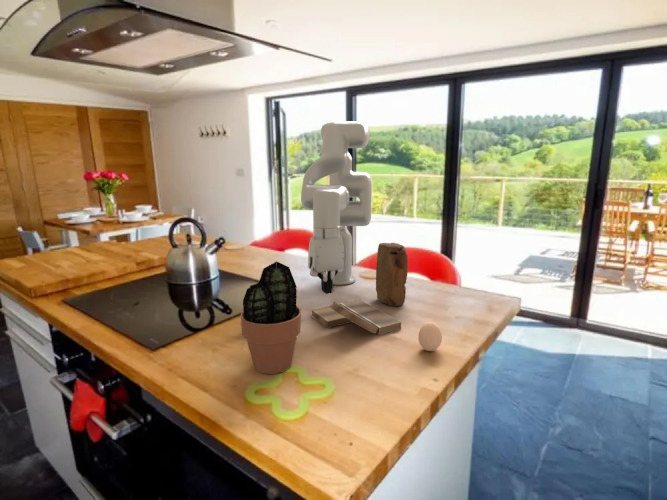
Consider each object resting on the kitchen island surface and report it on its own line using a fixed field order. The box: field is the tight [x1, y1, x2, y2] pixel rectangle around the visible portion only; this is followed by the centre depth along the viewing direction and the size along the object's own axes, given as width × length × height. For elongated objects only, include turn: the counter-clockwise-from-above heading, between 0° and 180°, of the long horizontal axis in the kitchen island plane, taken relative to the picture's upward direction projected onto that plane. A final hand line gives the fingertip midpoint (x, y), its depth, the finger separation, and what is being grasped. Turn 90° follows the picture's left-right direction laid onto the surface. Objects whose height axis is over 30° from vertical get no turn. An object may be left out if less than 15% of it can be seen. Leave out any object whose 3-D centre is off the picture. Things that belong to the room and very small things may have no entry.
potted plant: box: [240, 261, 302, 375], centre depth 88 cm, size 14×14×25 cm
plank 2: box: [330, 301, 378, 335], centre depth 108 cm, size 10×10×2 cm
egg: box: [418, 321, 443, 352], centre depth 98 cm, size 6×6×8 cm
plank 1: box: [310, 303, 353, 329], centre depth 117 cm, size 10×10×2 cm
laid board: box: [339, 299, 402, 335], centre depth 118 cm, size 21×8×2 cm, turn 30°
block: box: [375, 242, 409, 307], centre depth 129 cm, size 11×8×20 cm
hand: (327, 292), depth 115 cm, fingers closed
